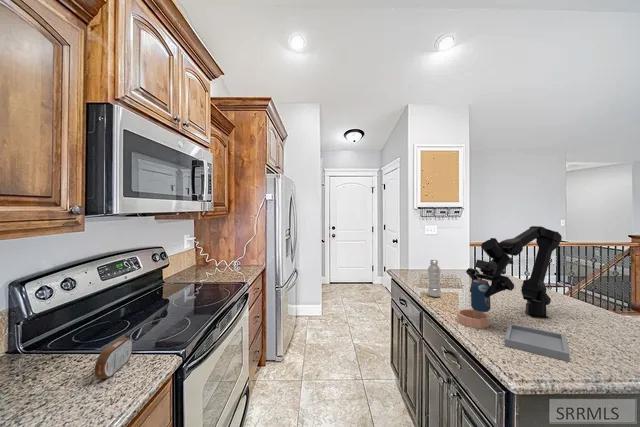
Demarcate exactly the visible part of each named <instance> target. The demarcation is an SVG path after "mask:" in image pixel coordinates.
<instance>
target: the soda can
mask: <svg viewBox="0 0 640 427" xmlns="http://www.w3.org/2000/svg"><path fill="white" fill-rule="evenodd" d="M472 281H473V282H472ZM471 282H472V283H471ZM471 282H470V287H471V292H470V306H471V308H472V310H475V311H477V312H484V313H489V311H490V310H491V296H489V297H487V298H486V297H485V294H486V292H487V290H488V289H489V287H490V286H491V284H490V283H489V280H485V279H482V280H480V279H475V280H472V279H471Z"/></svg>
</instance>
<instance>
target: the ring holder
mask: <svg viewBox="0 0 640 427" xmlns="http://www.w3.org/2000/svg"><path fill="white" fill-rule="evenodd" d="M456 312H457V313H456V319H457V322H458V323H459V324H461V325H463V326H466V327H469V326H470V327H469V328H473V327H475V328H474V329H484V328H488V327H489V326H490V316H489V315H488V313H487V312H477V311H475V310H473V309H470V308H469V309H468V308H463V309H459V310H457V311H456Z"/></svg>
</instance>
